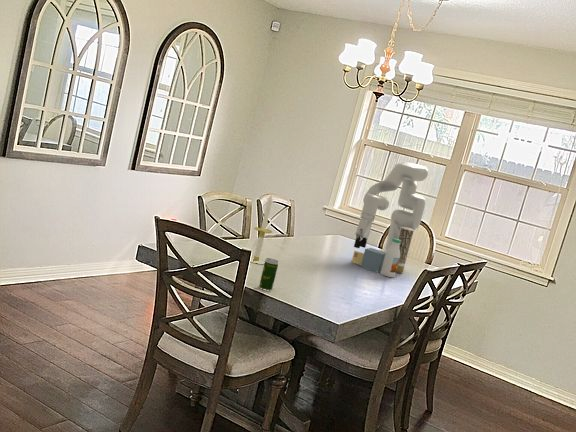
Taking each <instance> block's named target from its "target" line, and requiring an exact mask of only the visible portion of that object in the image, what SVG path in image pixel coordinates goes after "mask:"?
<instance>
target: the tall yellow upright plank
mask: <svg viewBox="0 0 576 432" xmlns="http://www.w3.org/2000/svg"><path fill="white" fill-rule="evenodd" d="M352 255H353V256H352V258H351V263H354V264H356V265H359V266H361V263H362V259H363V255H364V252H361V251H357V250H354V251H353V254H352Z"/></svg>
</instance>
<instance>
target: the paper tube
mask: <svg viewBox="0 0 576 432" xmlns="http://www.w3.org/2000/svg"><path fill="white" fill-rule="evenodd" d="M414 231H415V230H413V229H411V228H407V227H402V228H401V232H400V236H399V240H401V243H400V245H399V249H400V259H399V263H398V267H397V270H396V272H397V273H398V274H402V273H403V272H404V269H405V266H406V262H407V258H408V255H409V251H410V246H411V242H412V238H413V235H414Z"/></svg>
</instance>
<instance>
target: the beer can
mask: <svg viewBox="0 0 576 432" xmlns="http://www.w3.org/2000/svg"><path fill="white" fill-rule="evenodd" d="M264 262H265V263H264V265H263V267H262V268H263V269H262V273H261V276H260V280H259V285H258V287H260V288H262V289H266V290H271V291H272V290H273V287H274V283H275V279H276V275H277V270H278V267H279V260H277V259H275V258H270V257H267V258H265V260H264ZM260 288H259V289H260ZM262 289H261V290H262Z"/></svg>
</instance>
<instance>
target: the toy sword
mask: <svg viewBox="0 0 576 432" xmlns="http://www.w3.org/2000/svg"><path fill="white" fill-rule="evenodd" d="M272 203H273V195H272V193H271V194H270V196H269V197H268V198H267V202H266V205H265V206H266V207H265V210H264V214H263V218H262V224H261V226H260V227H259V226H255V227H254V228H253V229H254V230H256V231H257V232H259V234H258V238H257V243H256V247H255V251H254V255H253V258H254V259H253V262H254V261H259V260H260V257H261V253H262V248H263V244H264V240H265V235H266V234H272V233H273V231H272V230H270V229H267V225H268V220H269V217H270V211H271V208H272Z"/></svg>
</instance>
